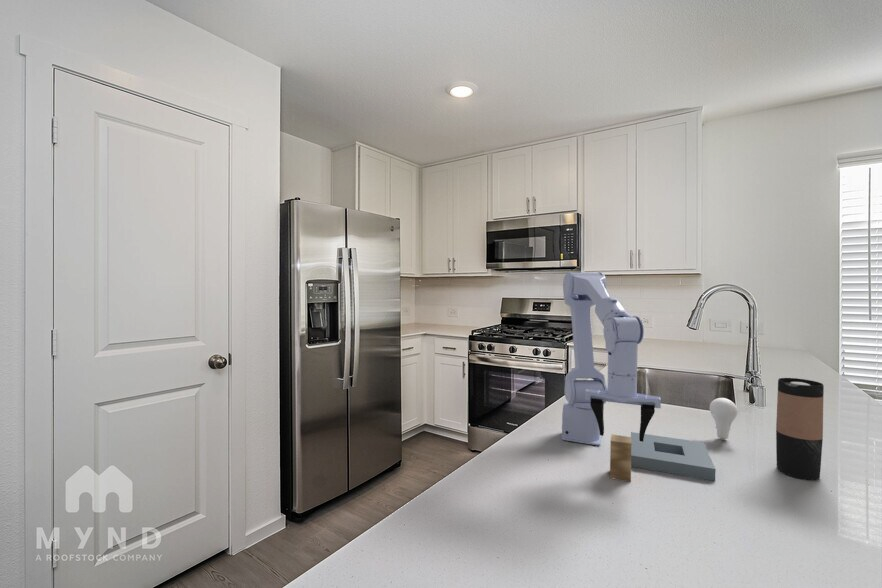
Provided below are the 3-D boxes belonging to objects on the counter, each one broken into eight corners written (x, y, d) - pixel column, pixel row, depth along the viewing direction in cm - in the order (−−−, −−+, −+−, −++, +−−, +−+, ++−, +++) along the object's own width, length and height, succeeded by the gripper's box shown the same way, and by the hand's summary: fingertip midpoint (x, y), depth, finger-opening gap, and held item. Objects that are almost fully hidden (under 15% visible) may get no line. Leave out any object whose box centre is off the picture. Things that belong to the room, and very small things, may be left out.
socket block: (630, 466, 93) (631, 455, 93) (630, 441, 107) (631, 432, 107) (715, 480, 86) (715, 469, 86) (703, 452, 101) (703, 442, 101)
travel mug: (810, 468, 92) (812, 379, 92) (829, 483, 85) (832, 387, 85) (769, 463, 95) (771, 376, 94) (784, 478, 88) (786, 384, 87)
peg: (609, 478, 87) (610, 440, 87) (610, 470, 91) (611, 434, 91) (630, 482, 86) (631, 443, 85) (630, 473, 89) (631, 437, 89)
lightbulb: (741, 445, 106) (742, 402, 105) (714, 443, 107) (715, 400, 107) (730, 436, 112) (731, 395, 111) (704, 434, 113) (705, 394, 113)
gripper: (584, 373, 87) (583, 437, 87) (662, 380, 81) (661, 449, 81) (587, 367, 94) (586, 427, 94) (659, 373, 87) (658, 437, 88)
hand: (621, 436), depth 88 cm, fingers open, 7 cm apart
